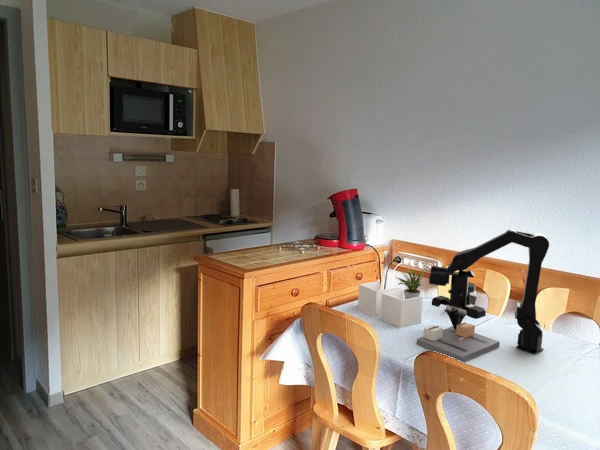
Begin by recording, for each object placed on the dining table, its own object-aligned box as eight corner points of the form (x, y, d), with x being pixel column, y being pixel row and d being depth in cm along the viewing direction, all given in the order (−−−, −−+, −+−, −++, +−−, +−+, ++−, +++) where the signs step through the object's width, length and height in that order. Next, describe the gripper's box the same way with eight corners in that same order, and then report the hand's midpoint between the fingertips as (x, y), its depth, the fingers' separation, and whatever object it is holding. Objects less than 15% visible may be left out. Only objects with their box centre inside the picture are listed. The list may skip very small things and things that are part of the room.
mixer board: (499, 347, 160) (499, 341, 160) (462, 363, 147) (462, 356, 146) (453, 330, 174) (454, 325, 174) (416, 344, 161) (416, 338, 160)
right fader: (474, 334, 164) (475, 324, 164) (466, 338, 161) (466, 327, 161) (464, 331, 168) (464, 321, 167) (456, 334, 165) (456, 324, 164)
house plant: (409, 297, 215) (411, 262, 213) (435, 304, 205) (437, 268, 202) (389, 302, 206) (391, 266, 204) (415, 311, 195) (417, 273, 193)
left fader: (442, 338, 161) (442, 327, 160) (433, 341, 158) (433, 330, 157) (432, 334, 164) (433, 324, 164) (423, 337, 161) (424, 327, 160)
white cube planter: (357, 309, 196) (359, 284, 195) (377, 305, 202) (378, 281, 201) (400, 328, 176) (401, 300, 174) (420, 323, 182) (422, 296, 180)
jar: (450, 312, 195) (452, 284, 193) (454, 307, 202) (456, 280, 200) (472, 316, 191) (474, 288, 189) (475, 310, 198) (478, 283, 196)
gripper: (496, 290, 163) (492, 332, 165) (450, 278, 177) (447, 317, 180) (478, 295, 156) (474, 339, 158) (432, 283, 171) (429, 323, 173)
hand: (456, 329), depth 167 cm, fingers closed
